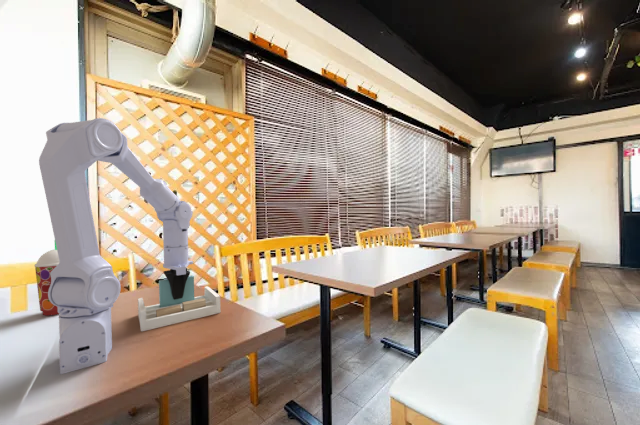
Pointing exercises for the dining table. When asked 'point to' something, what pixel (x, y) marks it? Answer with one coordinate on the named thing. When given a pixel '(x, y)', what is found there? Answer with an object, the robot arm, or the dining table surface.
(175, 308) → the offcut
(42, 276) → the smoothie
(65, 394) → the dining table surface
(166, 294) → the teal square slab
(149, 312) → the rack
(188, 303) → the offcut
